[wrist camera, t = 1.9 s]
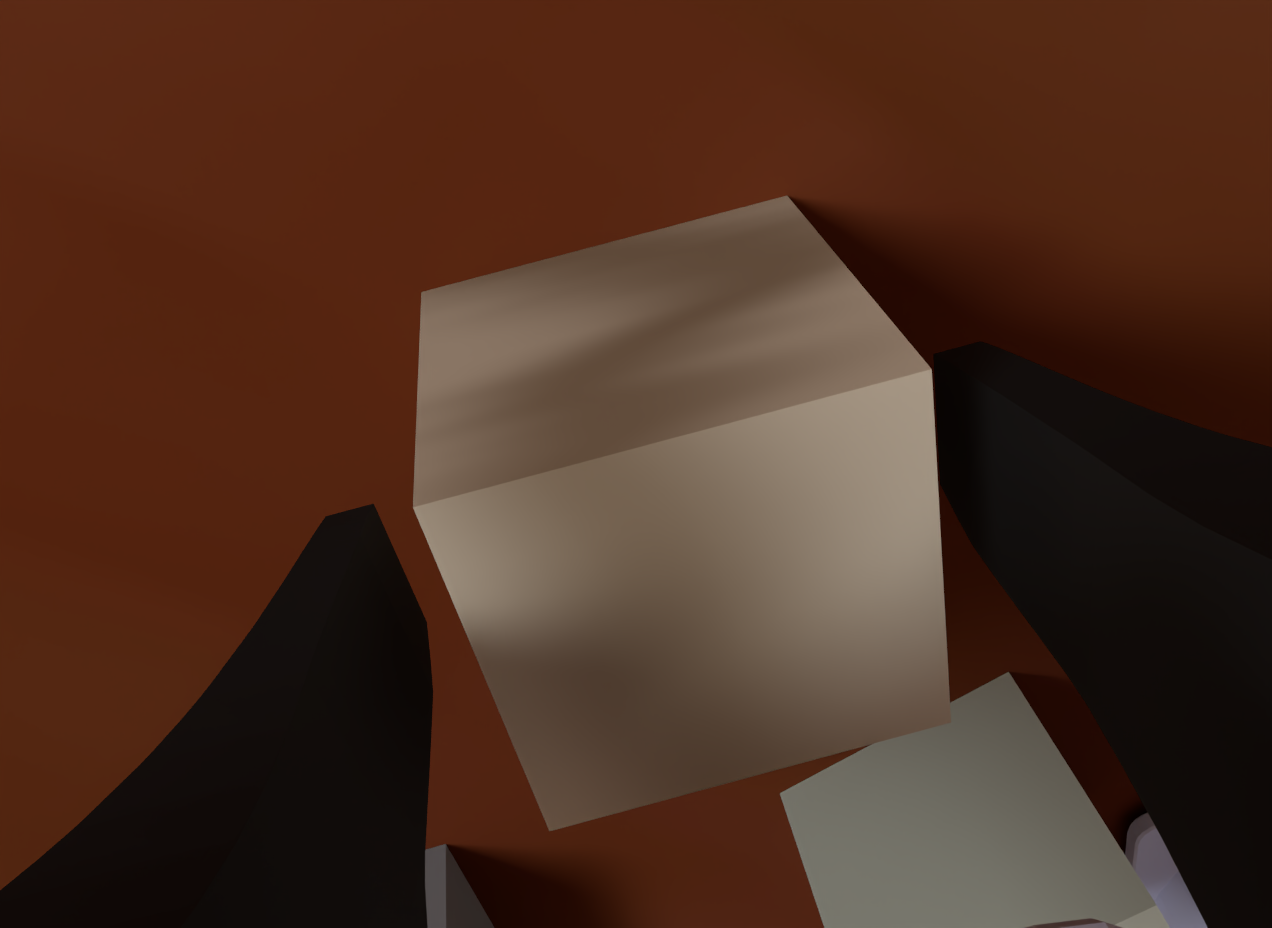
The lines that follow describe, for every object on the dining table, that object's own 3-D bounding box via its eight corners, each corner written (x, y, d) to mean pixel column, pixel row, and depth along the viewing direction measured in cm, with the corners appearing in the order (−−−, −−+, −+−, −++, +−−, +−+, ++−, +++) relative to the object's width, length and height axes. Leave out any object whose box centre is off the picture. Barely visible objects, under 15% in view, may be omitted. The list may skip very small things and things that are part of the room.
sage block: (1006, 668, 20) (1156, 905, 16) (1085, 798, 22) (1230, 1030, 18) (778, 790, 21) (863, 1043, 16) (879, 901, 23) (974, 1142, 19)
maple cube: (785, 193, 14) (931, 368, 10) (824, 489, 17) (950, 722, 13) (421, 289, 14) (412, 507, 10) (523, 569, 17) (549, 831, 12)
